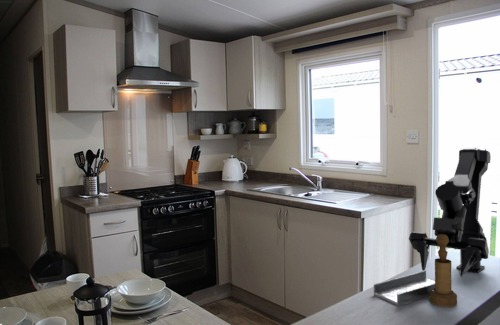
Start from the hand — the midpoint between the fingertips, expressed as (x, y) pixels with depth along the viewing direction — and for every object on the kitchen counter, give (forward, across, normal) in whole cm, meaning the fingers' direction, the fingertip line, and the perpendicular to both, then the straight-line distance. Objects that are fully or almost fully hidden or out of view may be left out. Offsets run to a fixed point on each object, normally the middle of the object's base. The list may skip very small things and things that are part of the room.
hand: (441, 272), depth 110 cm
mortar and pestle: (+5, 0, +7) cm, 9 cm away
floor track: (+3, -9, +9) cm, 13 cm away
